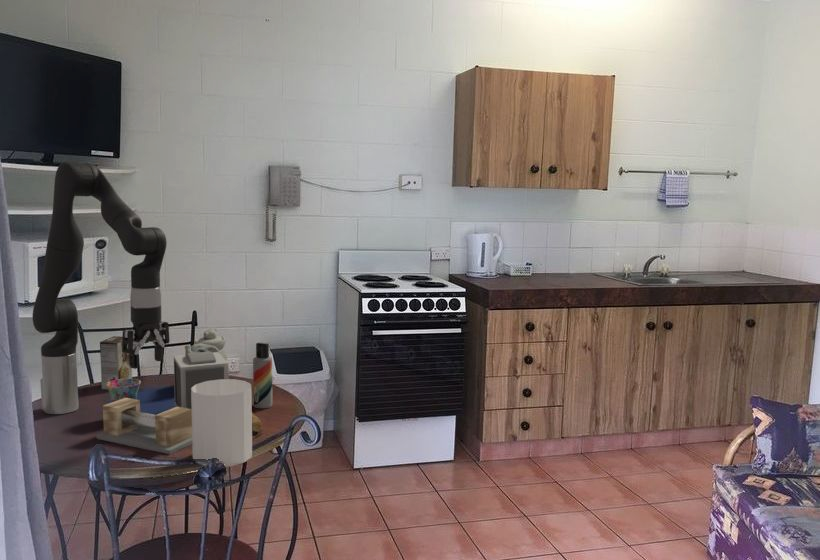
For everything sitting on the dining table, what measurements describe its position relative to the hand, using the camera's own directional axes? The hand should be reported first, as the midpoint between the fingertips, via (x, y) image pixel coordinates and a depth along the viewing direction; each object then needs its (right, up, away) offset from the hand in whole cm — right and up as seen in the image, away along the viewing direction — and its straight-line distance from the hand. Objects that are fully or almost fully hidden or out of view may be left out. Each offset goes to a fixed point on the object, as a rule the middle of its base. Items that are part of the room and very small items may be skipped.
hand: (146, 364), depth 184 cm
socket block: (+8, -21, -2) cm, 22 cm away
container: (+23, -22, -9) cm, 33 cm away
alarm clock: (+7, -18, +23) cm, 30 cm away
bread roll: (+24, -20, +7) cm, 32 cm away
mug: (-13, -18, +19) cm, 29 cm away
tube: (0, -18, +1) cm, 18 cm away
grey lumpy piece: (0, -14, +53) cm, 54 cm away
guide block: (-9, -18, +5) cm, 21 cm away
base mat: (0, -20, +2) cm, 20 cm away
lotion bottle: (+24, -17, +31) cm, 43 cm away
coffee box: (-29, -14, +50) cm, 59 cm away
